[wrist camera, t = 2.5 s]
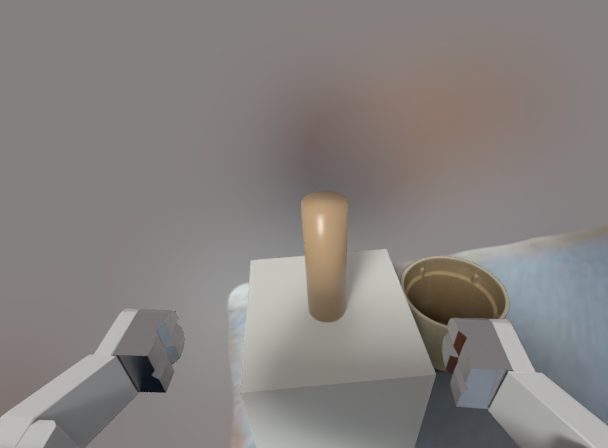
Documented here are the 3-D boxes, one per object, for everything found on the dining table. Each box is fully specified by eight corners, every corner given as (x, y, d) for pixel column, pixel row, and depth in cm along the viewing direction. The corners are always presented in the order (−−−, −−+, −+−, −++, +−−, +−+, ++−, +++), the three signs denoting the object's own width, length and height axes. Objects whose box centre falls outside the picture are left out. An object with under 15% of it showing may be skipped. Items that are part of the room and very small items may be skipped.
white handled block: (378, 323, 40) (396, 152, 28) (414, 447, 30) (469, 262, 18) (264, 333, 40) (232, 165, 28) (261, 462, 30) (207, 284, 17)
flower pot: (374, 346, 38) (380, 290, 33) (421, 298, 43) (432, 243, 38) (457, 408, 32) (480, 352, 27) (500, 344, 37) (526, 286, 32)
